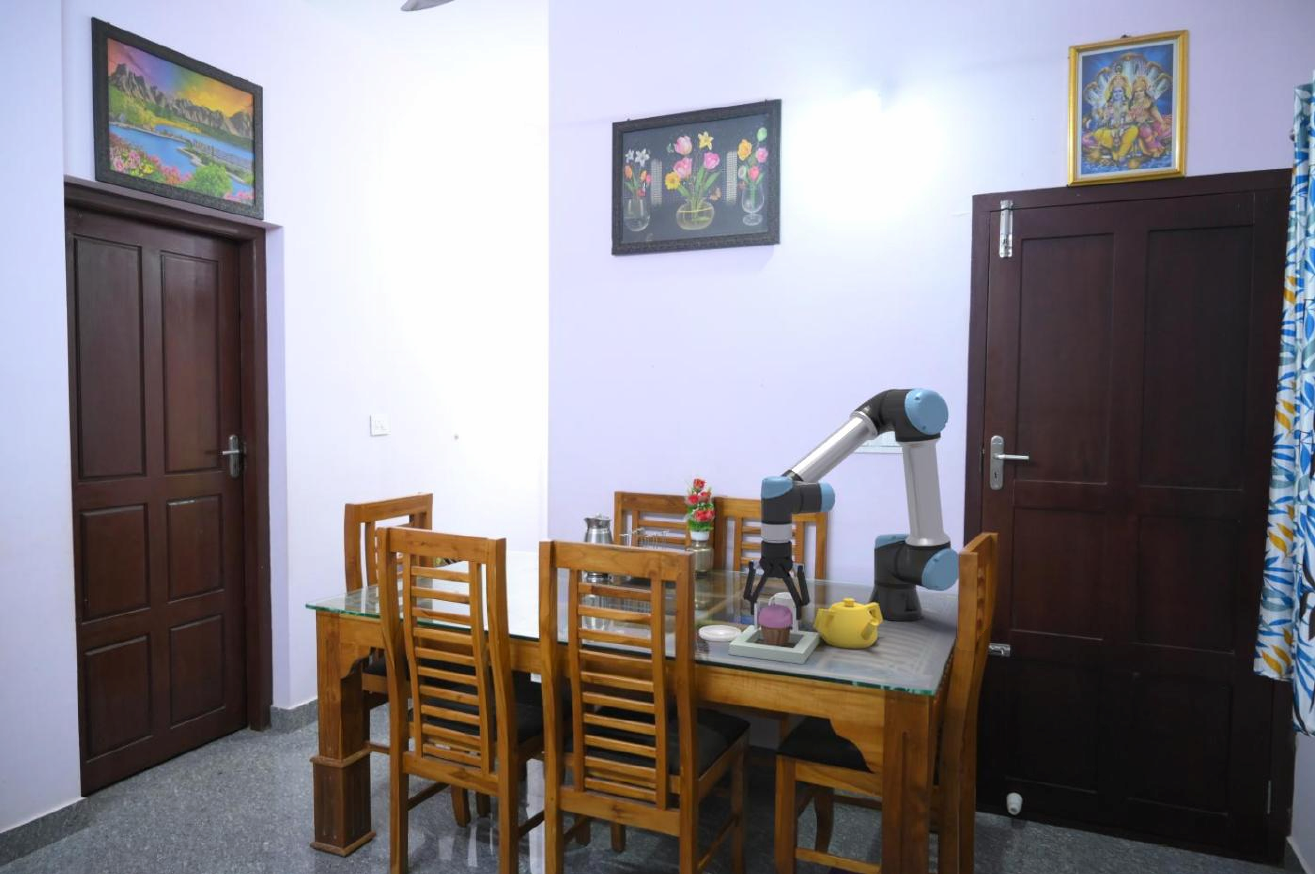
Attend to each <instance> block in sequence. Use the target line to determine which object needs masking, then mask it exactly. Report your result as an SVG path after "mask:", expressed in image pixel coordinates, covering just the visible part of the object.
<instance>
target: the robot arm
mask: <svg viewBox="0 0 1315 874" xmlns="http://www.w3.org/2000/svg"><path fill="white" fill-rule="evenodd" d="M948 421H949V408H948V404H947V403H946V400H945V398H944V397H943V396H941V395H940V394H939V393H938V392H936V391H935V390H932V389H926V388H916V387H915V388H901V389H900V388H899V389H898V388H893V389H892V388H890V389H887V390H886V389H885V390H883V391H881V392H878V393H876V394H875V395H874V396H872V397H870V398H869V399H867V400H865V402H863V403H862V404H861V405H858V407H857V408H856V409H854V410H853V411H851V413H850V415H849V419H848V420H846V422H844V423H843V424H841V426H840V427H838V428H837V429H836V430H835V431H833V432H832V433H831V434H830V435H829V436H827V437H826V438H825V439H824V440H823V441H821V442H819V444H818V445H816V446H815V447H814V448H813V449H811V450H810V451H809V452H808V453H807V454H805V456H803V457H802V458H801V459H799V460H798V461H797V462H795V463H794V465H792V466H791V467H790V468H788V470H786V471H785V472H784V473H782V474H780V476H766V477H764V478H763V479H762V480H761V487H760V488H761V489H760V517H761V518H760V538H761V539H762V540H761V541H760V558H759V560H756V559H751V560H749V561H748V563H747V566H748V573H747V574H748V575H747V577H746V582H745V586H744V587H745V588H744V591H743V596H742V599H744V600H746V601H748V602H749V604H750V615H751V616H753V618H754V619H753V621H754V622H753V623H754V630H758V629H759V628H760V626H761V625H760V624H759V623H758V616H759V613H760V611H761V601H759V597H760V595H761V593H762V591H763V589H764V587H765V585H766V584H767V582H768V579H772V578H777V579H781V580H782V582H783V583H784V584H785V586H786V589H787V591H788V593H790V595H791V597H792V599H793V601H794V603H795V606H794V607H793V626H792V630H793V634H796V633H797V632H798V631H799V621H801V620H802V618H803V607H804V606H805V607H806V606H808V605H809V604H810V603H811V599H810V596H809V590H808V586H807V582H806V581H807V580H806V576H805V567H806V564H804V563H797V562H796V563H795V562H794V560H793V542H792V541H791V540H792V538H793V516H794V515H795V516H796V515H803V514H805V515H806V514H821V513H828V512H830V511H832V509H833V508H834V506H835V503H836V493H835V490H834V488H833V487H832V485H831V484H829V483H828V482H820V481H821V480H822V479H823V478H824V477H825V476H827V475H828V474H829V473H830V472H832V470H833V469H836V467H837V466H838V465H840V464H841V463H842V462H843V461H844V460H846V459H847V458H849V456H851V455H852V454H854V452H855V451H857V450H858V449H859V448H860V447H861V446H862V445H864V444H865V443H866V442H868V441H874V440H876V439H877V438H878V437H879V436H880V435H883V434H885V433H889V432H891V433H892V432H893V433H894V441H895V443H896V444H897V445H899V446H900V447H901V449H902V450H901V453H902V461H903V471H904V472H903V473H904V482H905V492H906V502H907V503H906V504H907V512H908V513H907V514H908V523H909V532H910V533H890V534H889V533H888V534H881V535H877V537H875V539H874V548H873V588H872V590H871V593H870V597H869V600H868V602H867V604H870V603H873V602H875V603H877V604H879V608H880V611H881V615H882V618H883V620H887V621H894V622H896V621H897V622H908V621H916V620H919V619H921V618H923V607H922V603H921V600H920V597H919V594H918V590H917V586H919V587H921V588H924V589H926V590H930V591H936V592H937V591H938V592H944V591H946V590H948V589H951V588H952V587H953V586H955V585H956V583H957V581H958V580H959V579H958V555H960V554H959V553H958V552H957V551H956V550H955V549H953V548H952V543H951V537H950V536H949V535H948V534H947V533H945V531H944V522H943V511H942V510H943V509H942V501H941V499H942V498H941V488H940V480H939V479H940V478H939V477H940V476H939V467H938V457H937V446H936V445H937V443H938V442H939V441H940V440H941V438H942V434H941V432H942V431H943V430H944V429H945V428H946V426H947V425H946V424H947V423H948ZM759 567H760V568H761V570H763V573H762V575H761V577H760V580H759V582H758V583H757V585H756V587H755V589H754V591H753V586H754V581H755V578H756V577H755V576H756V574H757V569H758V568H759ZM792 569H794V572H795V573H796V577H797V583H798V586H799V590H800V591H799V592H800V594H801V595H800V594H799V592H798V589H797V586H796V585H795V582H794V581H793V579H792V577H793V576H792V575H791V573H790V571H792ZM752 591H753V593H752ZM869 612H870V614H871V615H872V613H871V611H869Z"/></svg>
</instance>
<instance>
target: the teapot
mask: <svg viewBox="0 0 1315 874" xmlns="http://www.w3.org/2000/svg"><path fill="white" fill-rule="evenodd" d="M855 600H856V599H855V598H851V597H844V598H843V599H842V601H838V602H835V603H832V604H831V605H830V607H829V608H828V609H826V608H818V610H817V613H816V617H815V620H814V624H813V626H812V627H813V628H814V629H816V630H817V632H818V633H819V636H821V638H822V639H823V641H825V643H827V644H828V645H830V646H832V647H835V648H836V647H838V648H840V649H841V648H842V649H864V648H868V647H870V646H872V645H873V644H874V643H875V642H876V641H877V639H878V633H879V632H878V627H879V626H880V625H881V624H882V623H883V621H884V619H883V618H882V615H881V611H880V608H879V604H877V603H875V602H873V603H870V604H868V603H867V604H863V603H858V602H855ZM869 611H871V613H872V615H871V614H870V612H869Z"/></svg>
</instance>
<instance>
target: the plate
mask: <svg viewBox="0 0 1315 874" xmlns="http://www.w3.org/2000/svg"><path fill="white" fill-rule="evenodd" d="M741 633H742V630H741V629H740V628H739V627H736V626H731V625H724V624H714V625H706V626H702V627H700V628H699V629H698V637H699V638H701V639H703V640H706V641H710V642H716V643H717V642H718V643H719V642H720V643H723V642H724V643H727V642H732V641H733V640H734V639H735V638H737V637H738V636H739V635H740V634H741Z"/></svg>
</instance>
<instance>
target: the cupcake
mask: <svg viewBox="0 0 1315 874" xmlns="http://www.w3.org/2000/svg"><path fill="white" fill-rule="evenodd" d="M758 623H759V624H760V626H761V631H762V635H763V637H764V639H765V640H764V641H765V643H766V644H767V645H771V646H779V647H783V646H787V645H788V644H789V643H788V642H789V636H790V630H792V629H791V628H792V626H791V625H793V614H792V612H791V611H790V609H789V608H788V607H787V606H785V605H779V604H776V605H775V604H771V605H768V604H767V605H766V606H764V607H762V608H761V609H760V613H759V616H758Z"/></svg>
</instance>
